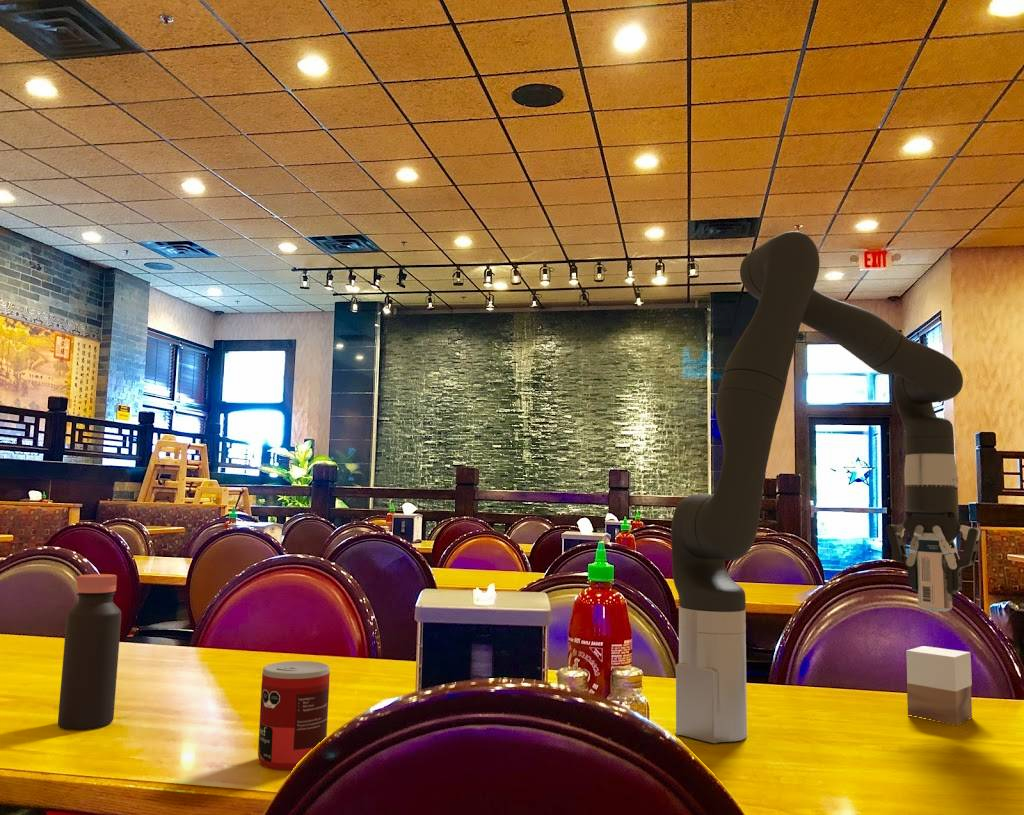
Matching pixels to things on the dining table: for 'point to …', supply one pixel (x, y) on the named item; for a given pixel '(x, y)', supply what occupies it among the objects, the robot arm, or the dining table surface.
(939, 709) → the tower base
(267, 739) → the canned food
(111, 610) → the bottle
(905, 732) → the dining table surface
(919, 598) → the beer can
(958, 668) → the tower top
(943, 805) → the dining table surface
